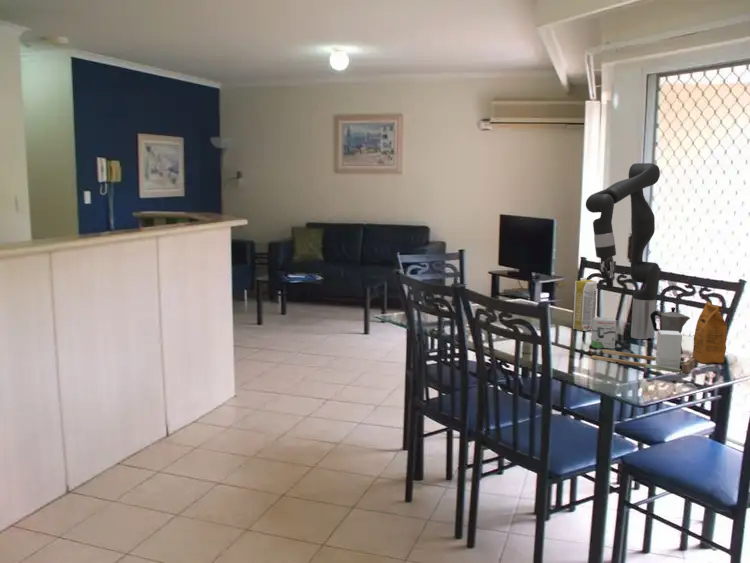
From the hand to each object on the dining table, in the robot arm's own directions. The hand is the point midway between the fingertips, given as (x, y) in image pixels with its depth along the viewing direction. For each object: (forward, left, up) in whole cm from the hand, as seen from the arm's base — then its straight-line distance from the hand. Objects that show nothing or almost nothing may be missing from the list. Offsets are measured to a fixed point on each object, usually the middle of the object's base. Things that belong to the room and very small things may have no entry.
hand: (610, 287), depth 271 cm
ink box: (-4, -3, -26) cm, 26 cm away
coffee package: (-7, +36, -26) cm, 45 cm away
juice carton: (-31, -21, -26) cm, 45 cm away
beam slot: (+11, +17, -26) cm, 33 cm away
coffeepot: (-13, +20, -26) cm, 35 cm away
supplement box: (+11, +26, -26) cm, 38 cm away
